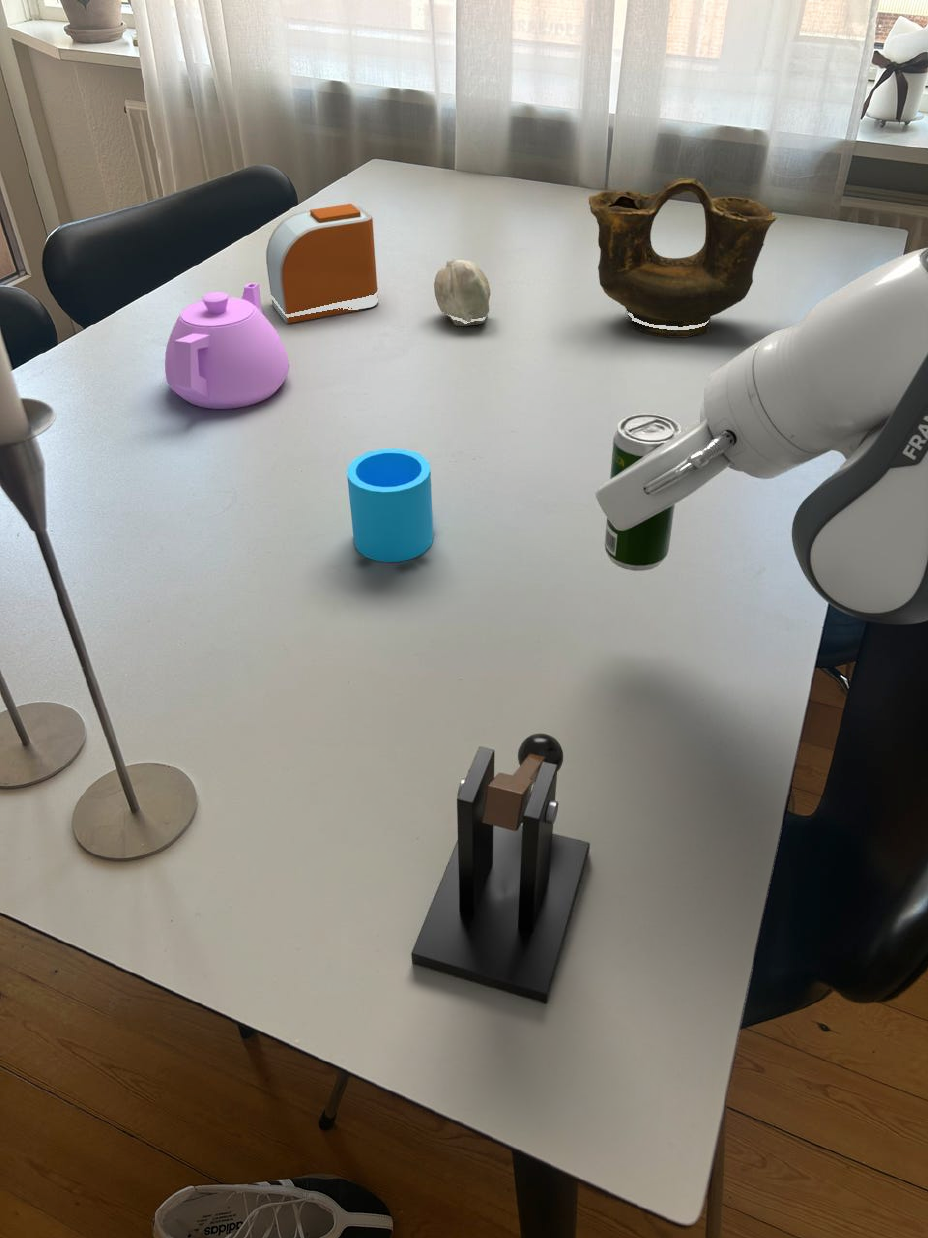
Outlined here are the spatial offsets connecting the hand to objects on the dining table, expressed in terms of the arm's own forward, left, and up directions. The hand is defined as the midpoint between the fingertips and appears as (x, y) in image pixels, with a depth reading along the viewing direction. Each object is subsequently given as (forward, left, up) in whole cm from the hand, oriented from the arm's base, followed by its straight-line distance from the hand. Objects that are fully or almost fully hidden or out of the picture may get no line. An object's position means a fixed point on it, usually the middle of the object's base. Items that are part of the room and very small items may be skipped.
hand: (636, 484), depth 79 cm
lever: (+2, +28, -8) cm, 29 cm away
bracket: (+2, +32, -15) cm, 35 cm away
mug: (+25, -8, -15) cm, 30 cm away
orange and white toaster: (+57, -61, -15) cm, 84 cm away
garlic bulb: (+35, -61, -15) cm, 72 cm away
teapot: (+58, -32, -15) cm, 68 cm away
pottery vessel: (+7, -68, -15) cm, 70 cm away
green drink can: (-1, 0, -7) cm, 7 cm away
